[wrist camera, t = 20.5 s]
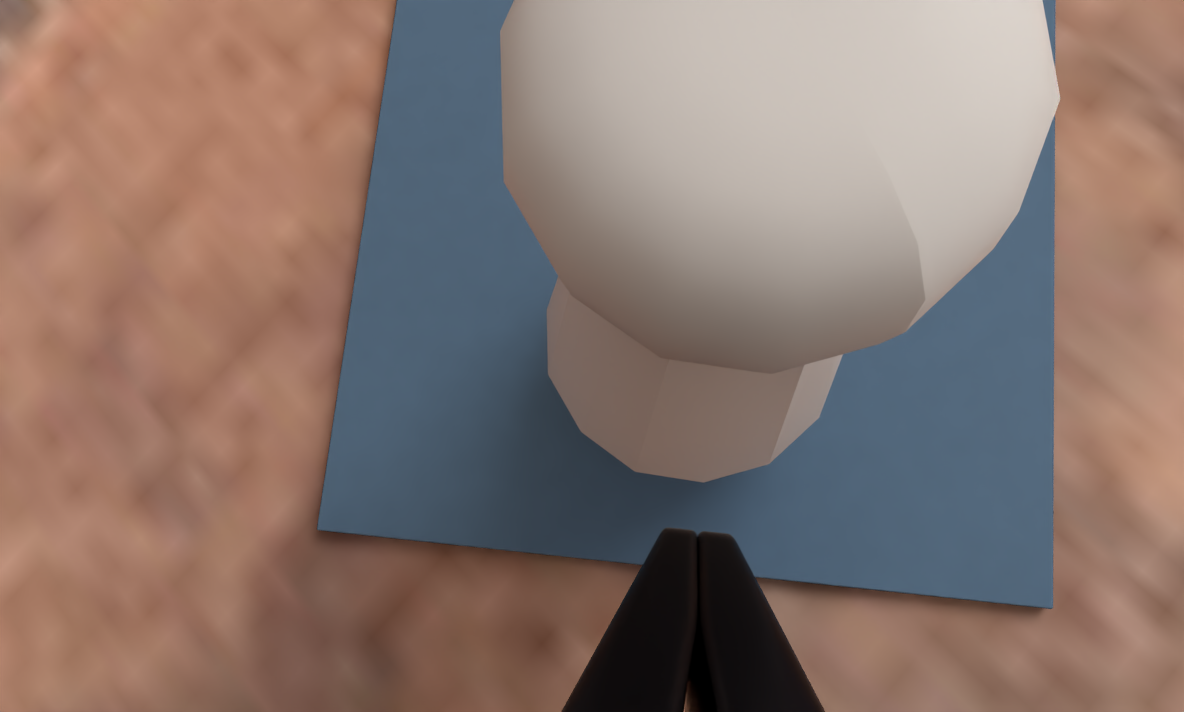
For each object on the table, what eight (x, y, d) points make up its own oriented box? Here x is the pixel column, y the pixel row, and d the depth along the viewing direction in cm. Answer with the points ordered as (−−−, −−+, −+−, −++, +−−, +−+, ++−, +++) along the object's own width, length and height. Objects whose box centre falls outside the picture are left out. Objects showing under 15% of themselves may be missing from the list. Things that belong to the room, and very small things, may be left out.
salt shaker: (537, 457, 18) (266, 365, 5) (580, 216, 19) (441, -366, 6) (799, 502, 17) (1214, 524, 5) (831, 252, 18) (1254, -307, 6)
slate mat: (1046, 607, 17) (1053, 609, 17) (321, 529, 18) (316, 530, 18) (1051, -341, 21) (1057, -353, 21) (453, -348, 22) (450, -359, 22)
